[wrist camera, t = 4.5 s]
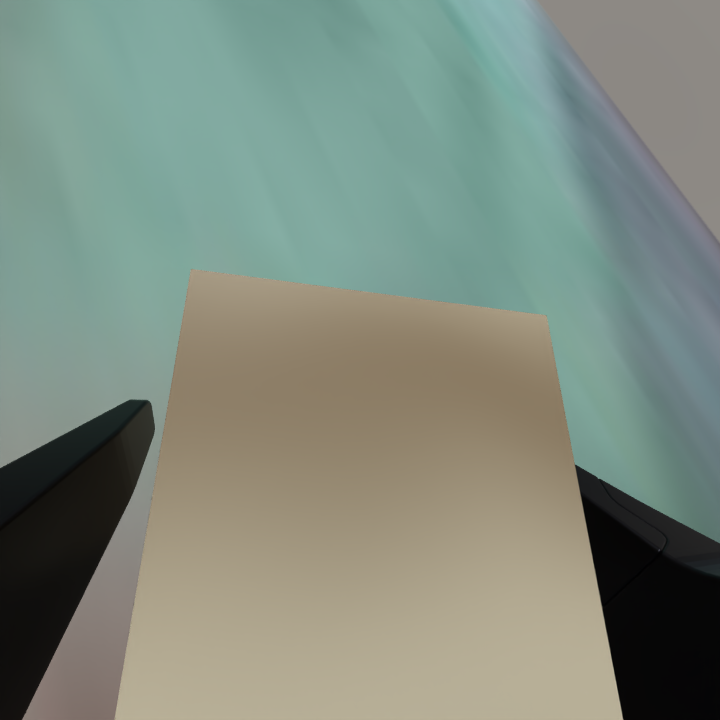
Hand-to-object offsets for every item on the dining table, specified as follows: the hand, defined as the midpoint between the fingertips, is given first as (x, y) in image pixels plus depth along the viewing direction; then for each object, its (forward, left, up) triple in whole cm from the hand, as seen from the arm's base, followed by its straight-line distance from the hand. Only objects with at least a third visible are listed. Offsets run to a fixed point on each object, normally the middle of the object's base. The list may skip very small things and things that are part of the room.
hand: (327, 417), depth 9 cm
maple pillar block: (-1, -1, -7) cm, 7 cm away
